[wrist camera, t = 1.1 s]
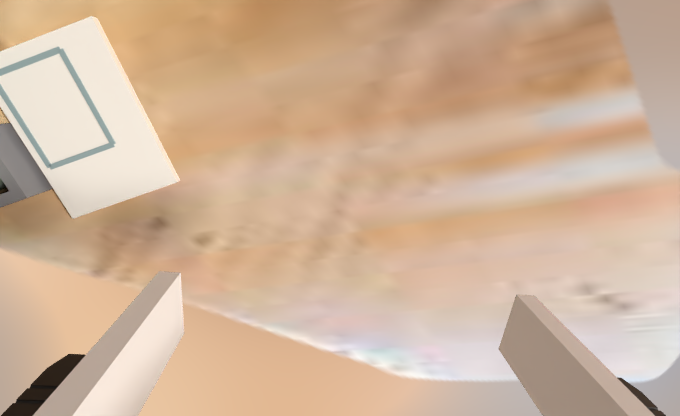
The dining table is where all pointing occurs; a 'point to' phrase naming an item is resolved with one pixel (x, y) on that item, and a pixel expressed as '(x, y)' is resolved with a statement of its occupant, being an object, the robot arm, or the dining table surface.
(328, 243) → the dining table surface
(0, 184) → the button
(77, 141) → the sheet
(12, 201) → the button housing
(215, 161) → the dining table surface
